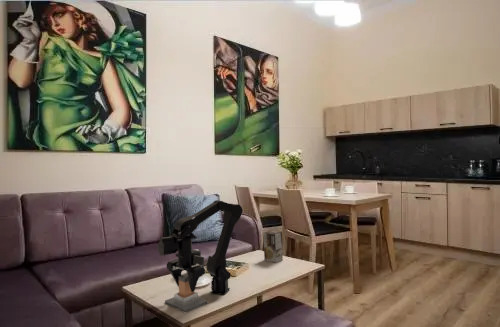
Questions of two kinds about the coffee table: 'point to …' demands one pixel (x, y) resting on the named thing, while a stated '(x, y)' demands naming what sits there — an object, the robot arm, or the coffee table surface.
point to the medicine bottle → (197, 255)
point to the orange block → (184, 286)
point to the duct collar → (186, 302)
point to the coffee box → (273, 246)
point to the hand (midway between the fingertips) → (185, 288)
